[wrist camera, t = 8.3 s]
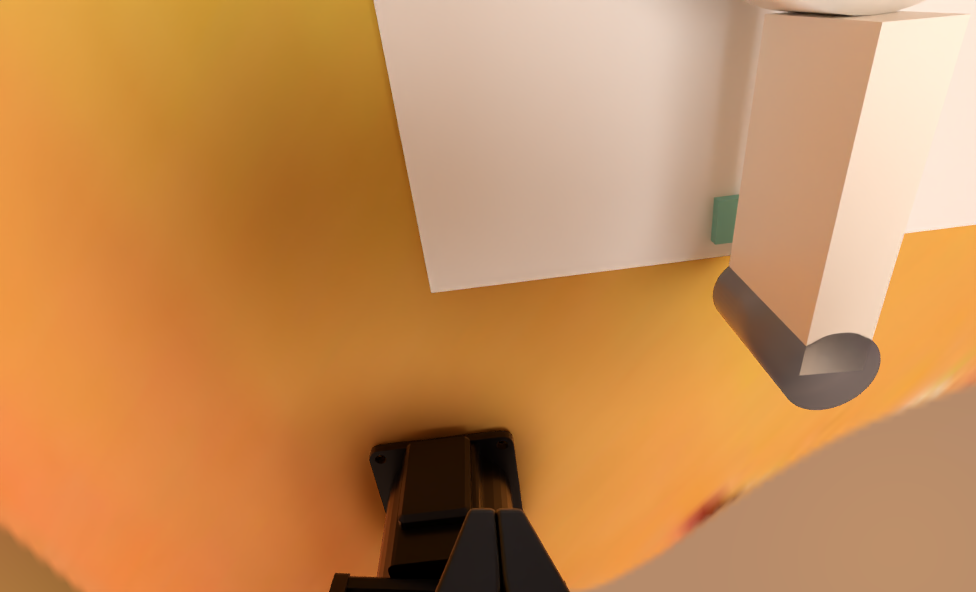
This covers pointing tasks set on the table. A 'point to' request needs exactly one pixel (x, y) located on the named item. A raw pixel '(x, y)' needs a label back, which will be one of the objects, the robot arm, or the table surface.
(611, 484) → the table surface
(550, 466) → the table surface
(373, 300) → the table surface
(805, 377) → the lock lever
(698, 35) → the lock base
